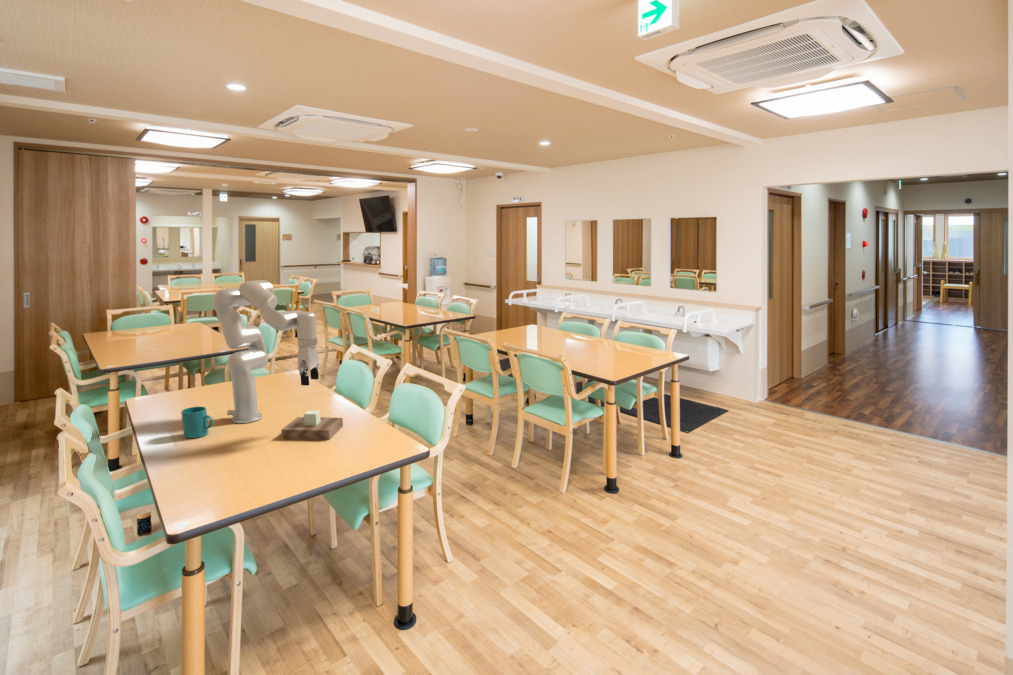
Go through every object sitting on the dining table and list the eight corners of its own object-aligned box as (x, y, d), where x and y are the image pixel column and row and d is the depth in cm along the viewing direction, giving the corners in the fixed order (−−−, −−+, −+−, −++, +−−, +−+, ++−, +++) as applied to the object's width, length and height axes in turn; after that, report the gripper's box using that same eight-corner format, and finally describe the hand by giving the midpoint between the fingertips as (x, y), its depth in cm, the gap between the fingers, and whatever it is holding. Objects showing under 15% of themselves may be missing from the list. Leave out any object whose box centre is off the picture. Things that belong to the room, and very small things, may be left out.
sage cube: (304, 425, 225) (303, 414, 224) (309, 421, 230) (308, 410, 229) (316, 425, 225) (315, 414, 224) (320, 421, 230) (320, 410, 229)
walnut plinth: (281, 438, 221) (281, 429, 220) (298, 425, 236) (297, 416, 236) (329, 439, 220) (328, 430, 219) (342, 426, 235) (342, 417, 235)
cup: (208, 439, 220) (206, 413, 218) (179, 439, 220) (176, 413, 218) (220, 431, 229) (217, 406, 227) (191, 431, 229) (189, 406, 226)
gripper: (307, 338, 230) (309, 376, 233) (289, 346, 213) (292, 387, 216) (324, 338, 229) (326, 377, 232) (307, 346, 212) (310, 387, 215)
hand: (310, 382), depth 224 cm, fingers open, 9 cm apart
